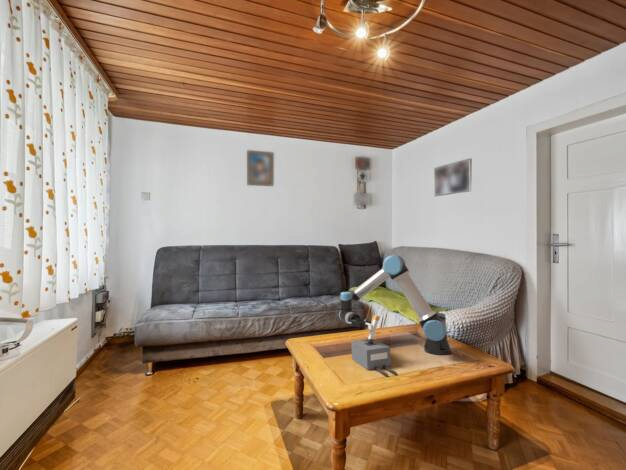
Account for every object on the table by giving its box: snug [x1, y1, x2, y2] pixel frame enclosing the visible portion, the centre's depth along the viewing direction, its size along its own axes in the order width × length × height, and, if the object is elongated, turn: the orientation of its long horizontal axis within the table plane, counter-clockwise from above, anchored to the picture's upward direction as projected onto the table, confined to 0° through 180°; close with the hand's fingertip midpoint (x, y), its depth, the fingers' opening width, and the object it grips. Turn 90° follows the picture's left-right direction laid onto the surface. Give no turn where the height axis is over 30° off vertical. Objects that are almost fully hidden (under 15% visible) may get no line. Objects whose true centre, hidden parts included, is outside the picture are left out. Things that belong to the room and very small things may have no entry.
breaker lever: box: [365, 314, 381, 344], centre depth 159 cm, size 4×2×15 cm, turn 19°
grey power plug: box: [350, 338, 398, 377], centre depth 152 cm, size 29×14×10 cm, turn 19°
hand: (372, 327), depth 154 cm, fingers closed
